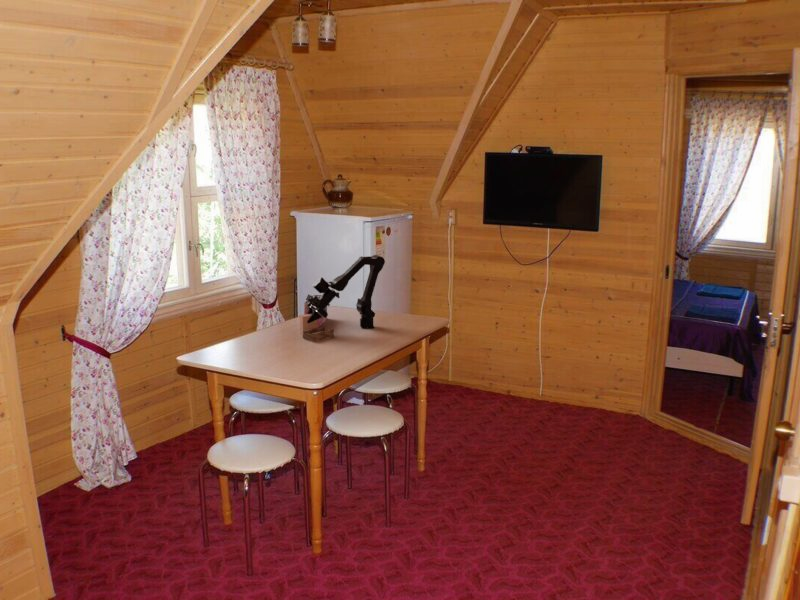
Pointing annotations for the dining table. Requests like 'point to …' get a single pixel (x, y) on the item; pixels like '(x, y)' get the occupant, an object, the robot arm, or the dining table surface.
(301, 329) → the terracotta block
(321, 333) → the walnut rack
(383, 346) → the dining table surface
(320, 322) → the gum box
